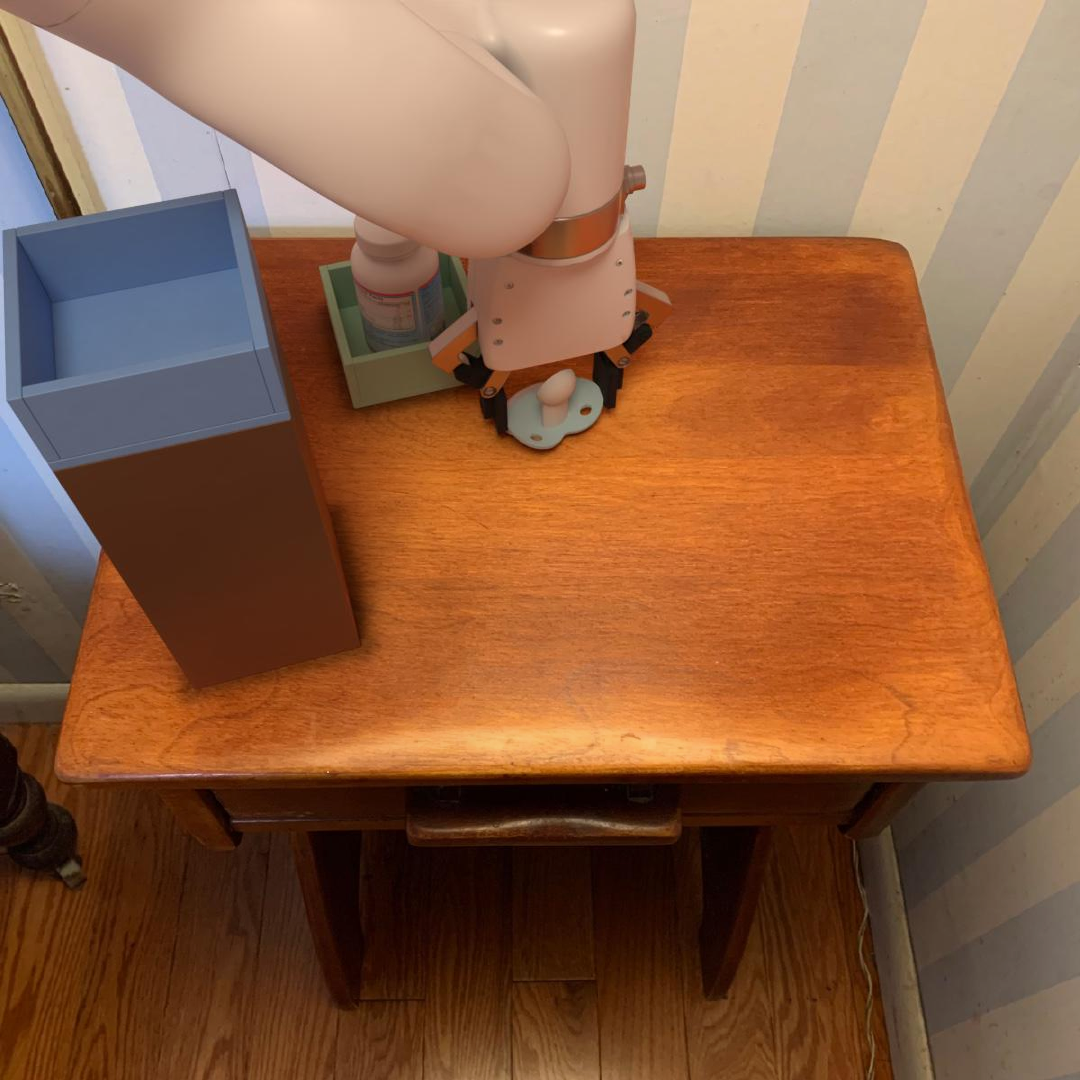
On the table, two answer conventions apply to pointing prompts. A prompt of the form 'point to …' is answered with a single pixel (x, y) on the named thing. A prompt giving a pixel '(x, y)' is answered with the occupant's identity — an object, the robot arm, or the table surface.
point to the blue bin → (178, 428)
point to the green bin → (394, 368)
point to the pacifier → (553, 409)
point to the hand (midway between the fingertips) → (550, 405)
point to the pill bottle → (396, 288)
